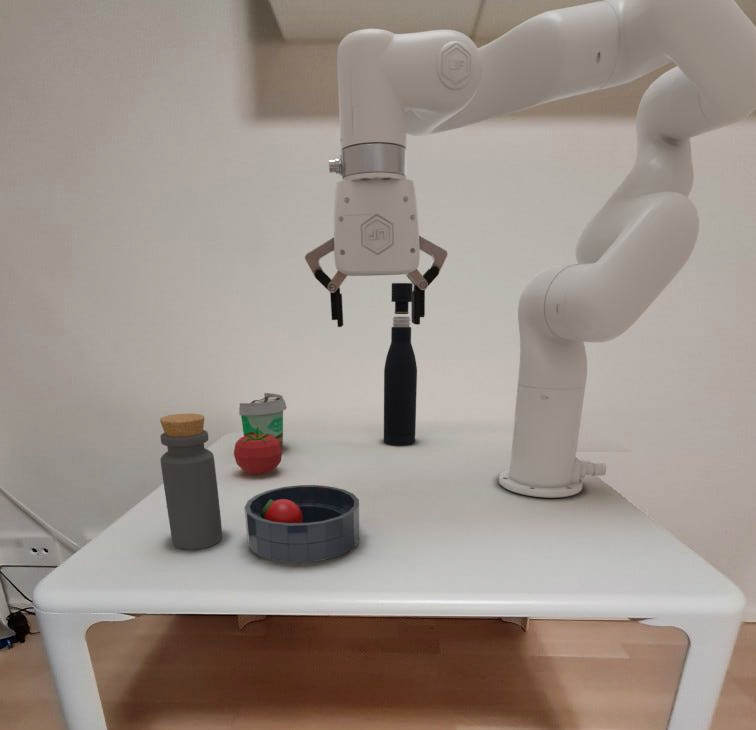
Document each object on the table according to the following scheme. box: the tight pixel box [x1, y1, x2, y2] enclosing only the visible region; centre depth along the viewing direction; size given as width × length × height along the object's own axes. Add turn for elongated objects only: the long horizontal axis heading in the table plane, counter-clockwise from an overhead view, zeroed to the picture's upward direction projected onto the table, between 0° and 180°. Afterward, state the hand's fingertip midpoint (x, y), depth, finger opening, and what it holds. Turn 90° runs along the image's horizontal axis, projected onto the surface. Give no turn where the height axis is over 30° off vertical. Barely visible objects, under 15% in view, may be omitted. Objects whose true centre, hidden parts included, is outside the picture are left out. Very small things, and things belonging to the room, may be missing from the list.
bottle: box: [159, 413, 223, 551], centre depth 63 cm, size 6×6×15 cm
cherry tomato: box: [260, 499, 303, 523], centre depth 65 cm, size 5×5×5 cm
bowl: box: [244, 484, 361, 563], centre depth 65 cm, size 13×13×5 cm
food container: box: [238, 392, 287, 451], centre depth 102 cm, size 12×6×10 cm, turn 168°
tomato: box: [233, 427, 283, 475], centre depth 90 cm, size 8×8×8 cm
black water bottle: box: [383, 282, 418, 447], centre depth 105 cm, size 6×6×30 cm
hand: (378, 325), depth 69 cm, fingers open, 9 cm apart
